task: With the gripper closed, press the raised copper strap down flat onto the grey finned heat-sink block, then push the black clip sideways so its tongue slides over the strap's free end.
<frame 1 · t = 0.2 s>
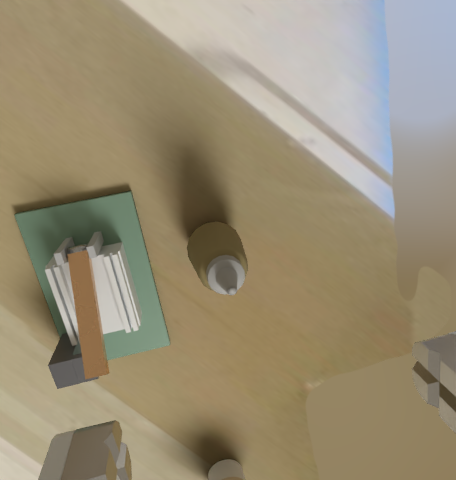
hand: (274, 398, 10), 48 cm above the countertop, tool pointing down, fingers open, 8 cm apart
coffee cup: (225, 472, 75), on the countertop
squeeze bottle: (211, 239, 59), on the countertop
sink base: (98, 277, 58), on the countertop
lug: (79, 355, 56), point 5 cm above the countertop, slide at 0.0 cm
strap: (87, 308, 49), point 10 cm above the countertop, hinge at 32.0°
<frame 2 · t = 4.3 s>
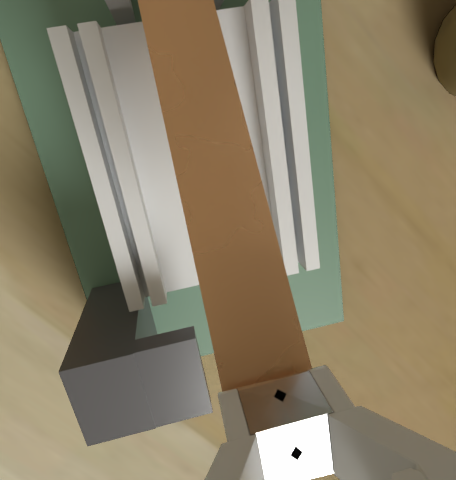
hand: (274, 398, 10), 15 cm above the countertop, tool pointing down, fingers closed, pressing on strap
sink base: (189, 135, 22), on the countertop
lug: (144, 342, 20), point 5 cm above the countertop, slide at 0.0 cm
strap: (211, 154, 13), point 10 cm above the countertop, hinge at 31.6°, touching gripper
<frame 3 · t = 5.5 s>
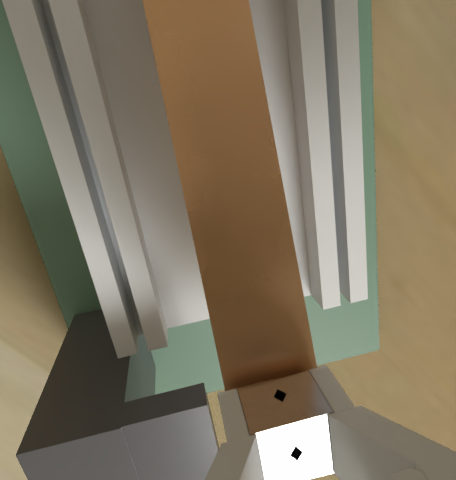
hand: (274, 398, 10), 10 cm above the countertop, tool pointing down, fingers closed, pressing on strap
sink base: (196, 125, 17), on the countertop
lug: (138, 390, 15), point 5 cm above the countertop, slide at 0.0 cm
strap: (228, 175, 10), point 8 cm above the countertop, hinge at 15.4°, touching gripper
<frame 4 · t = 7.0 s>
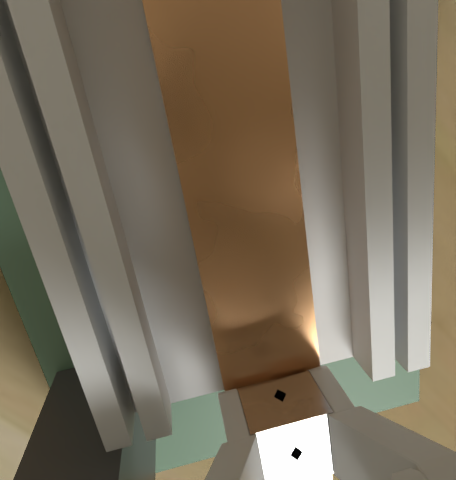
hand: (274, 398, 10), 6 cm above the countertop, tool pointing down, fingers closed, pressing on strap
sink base: (206, 140, 14), on the countertop
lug: (134, 478, 12), point 5 cm above the countertop, slide at 0.0 cm
strap: (242, 212, 9), point 6 cm above the countertop, hinge at 1.3°, touching gripper
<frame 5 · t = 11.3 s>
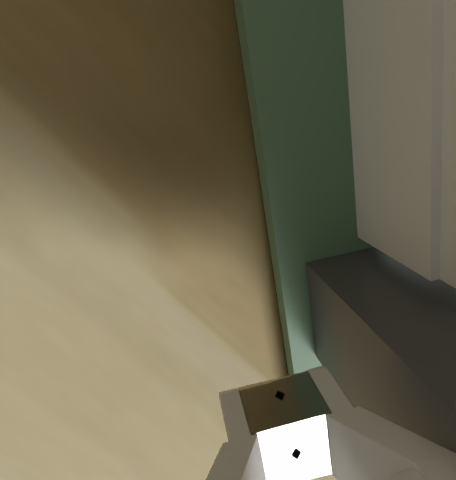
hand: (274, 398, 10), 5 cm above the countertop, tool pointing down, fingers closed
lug: (455, 354, 11), point 5 cm above the countertop, slide at 0.5 cm, touching gripper
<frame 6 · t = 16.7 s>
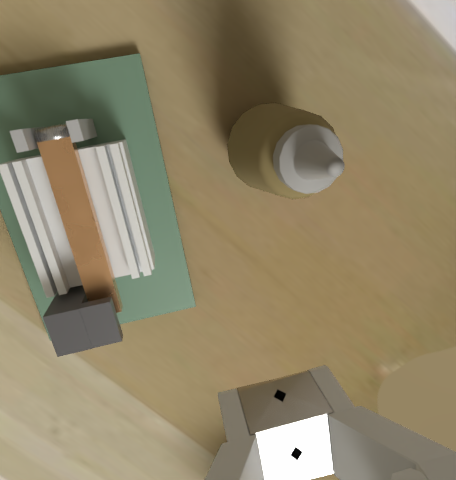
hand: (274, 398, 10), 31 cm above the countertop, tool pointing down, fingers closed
squeeze bottle: (259, 145, 39), on the countertop
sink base: (89, 198, 38), on the countertop
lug: (91, 308, 36), point 5 cm above the countertop, slide at 3.0 cm
strap: (82, 226, 33), point 6 cm above the countertop, hinge at 1.2°
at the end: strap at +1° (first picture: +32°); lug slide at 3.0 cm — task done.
